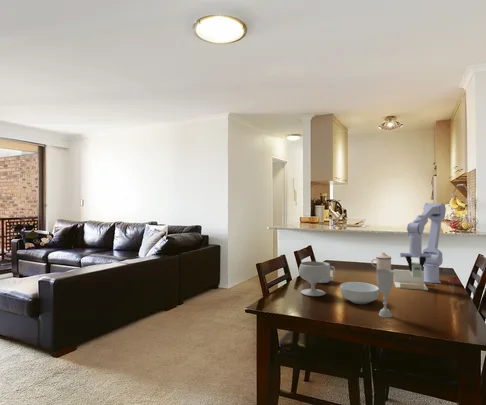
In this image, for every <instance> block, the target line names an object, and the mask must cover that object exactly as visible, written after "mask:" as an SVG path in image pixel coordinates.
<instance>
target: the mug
mask: <svg viewBox="0 0 486 405" xmlns="http://www.w3.org/2000/svg"><path fill="white" fill-rule="evenodd" d="M321 262H322V261H321ZM322 263H324V264H325V266H326V268H327V276H326V277H325V278H324V279H323V280H321V281H319V282H317V283H318V284H325V283H326V284H327V283H329V282H331V279H334V278H335V277H336V268H335V266H333V265H331V264H330V263H329V262H325V261H323V262H322ZM331 268H332V269H333V276H331ZM317 283H316V284H317Z"/></svg>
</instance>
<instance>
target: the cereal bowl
mask: <svg viewBox="0 0 486 405" xmlns="http://www.w3.org/2000/svg"><path fill="white" fill-rule="evenodd" d="M339 286H340V287H339V289H340V290H339V291H340V293H341V295H342V297H343V298H344V299H346V300H348V301H349V302H351V303H352V304H356V305H357V304H358V305H368V304H369V303H371V302H374V301H375V300H377V298H378V296H379V293H380V289H379V287H378V285H374V284H373V283H367V282H361V281H347V282H343V283H341V284H340V285H339Z"/></svg>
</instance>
